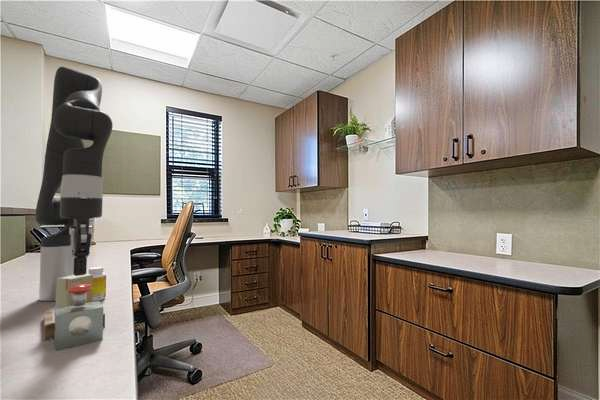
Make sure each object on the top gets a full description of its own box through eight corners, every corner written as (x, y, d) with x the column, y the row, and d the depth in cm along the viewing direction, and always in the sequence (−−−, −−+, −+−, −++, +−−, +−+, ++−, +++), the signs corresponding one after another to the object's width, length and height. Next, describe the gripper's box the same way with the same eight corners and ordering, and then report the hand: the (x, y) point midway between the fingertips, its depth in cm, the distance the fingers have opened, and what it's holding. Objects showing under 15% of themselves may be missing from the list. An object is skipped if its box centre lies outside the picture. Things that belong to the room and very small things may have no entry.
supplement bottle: (108, 299, 94) (109, 267, 94) (87, 303, 89) (88, 270, 90) (102, 296, 97) (102, 265, 98) (82, 300, 93) (83, 268, 93)
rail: (44, 319, 76) (44, 307, 76) (94, 309, 83) (95, 299, 84) (44, 340, 63) (45, 326, 63) (104, 326, 70) (105, 314, 71)
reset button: (67, 304, 64) (67, 286, 64) (89, 300, 66) (89, 283, 66) (68, 308, 61) (69, 289, 61) (91, 304, 63) (92, 286, 63)
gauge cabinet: (53, 341, 63) (55, 308, 63) (98, 331, 68) (99, 300, 68) (55, 351, 58) (56, 316, 58) (102, 339, 63) (103, 307, 64)
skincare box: (67, 331, 68) (68, 279, 68) (53, 330, 69) (54, 278, 69) (93, 321, 74) (94, 273, 75) (79, 320, 75) (80, 273, 76)
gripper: (59, 197, 67) (56, 272, 66) (62, 194, 57) (59, 283, 56) (98, 198, 72) (96, 268, 71) (107, 196, 62) (104, 277, 61)
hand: (79, 274), depth 64 cm, fingers closed
